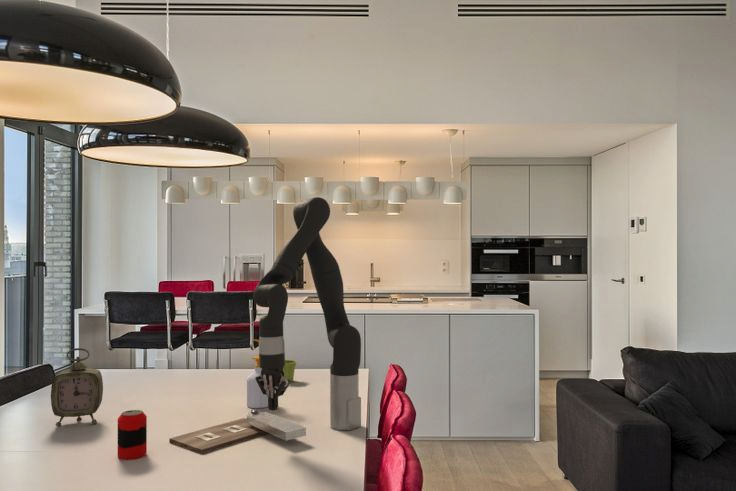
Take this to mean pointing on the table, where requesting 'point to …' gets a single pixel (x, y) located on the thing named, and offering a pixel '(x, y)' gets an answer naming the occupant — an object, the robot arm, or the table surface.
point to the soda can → (132, 435)
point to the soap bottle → (255, 388)
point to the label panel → (217, 436)
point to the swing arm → (275, 425)
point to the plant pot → (289, 369)
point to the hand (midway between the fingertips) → (273, 409)
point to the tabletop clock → (76, 391)
